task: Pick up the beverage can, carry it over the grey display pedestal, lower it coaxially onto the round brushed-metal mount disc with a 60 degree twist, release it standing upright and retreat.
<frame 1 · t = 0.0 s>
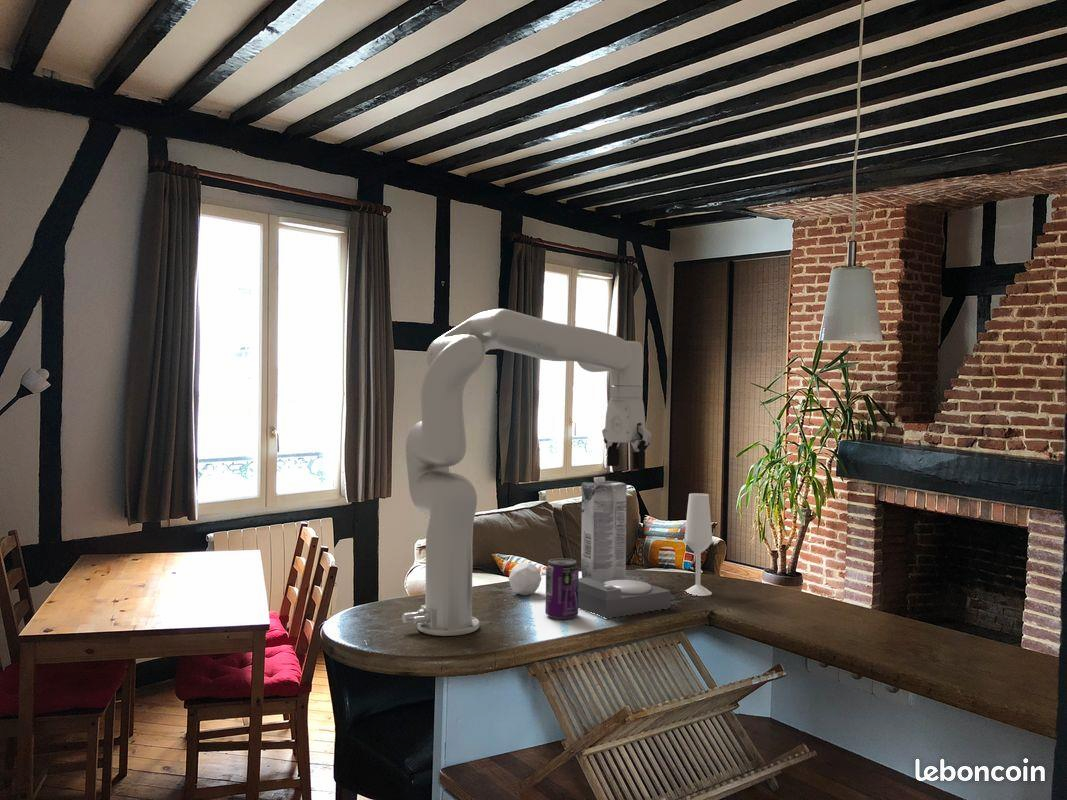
hand: (625, 467, 186), 31 cm above the breakfast bar, tool pointing down, fingers open, 9 cm apart
geometric ball: (524, 594, 192), on the breakfast bar
champagne flute: (697, 593, 195), on the breakfast bar
juice carton: (603, 583, 205), on the breakfast bar
beverage can: (561, 617, 172), on the breakfast bar
grey display pedestal: (621, 607, 181), on the breakfast bar
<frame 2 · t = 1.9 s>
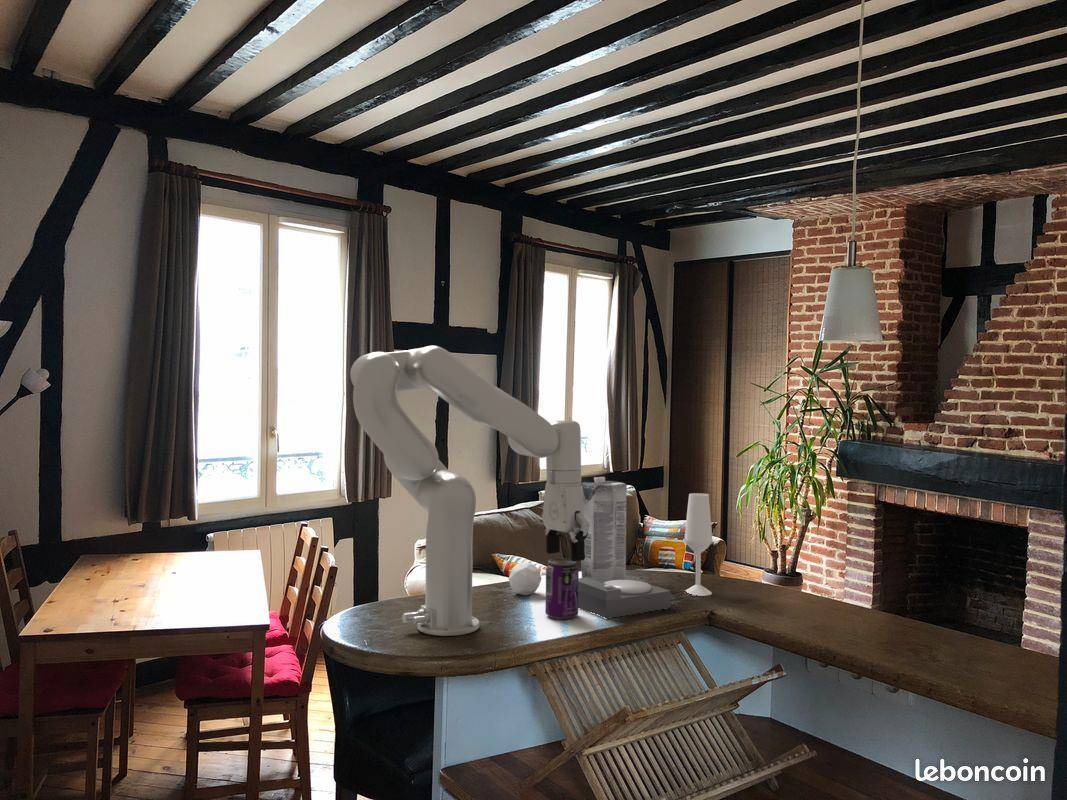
hand: (565, 556, 173), 13 cm above the breakfast bar, tool pointing down, fingers open, 9 cm apart
nothing on the breakfast bar moved.
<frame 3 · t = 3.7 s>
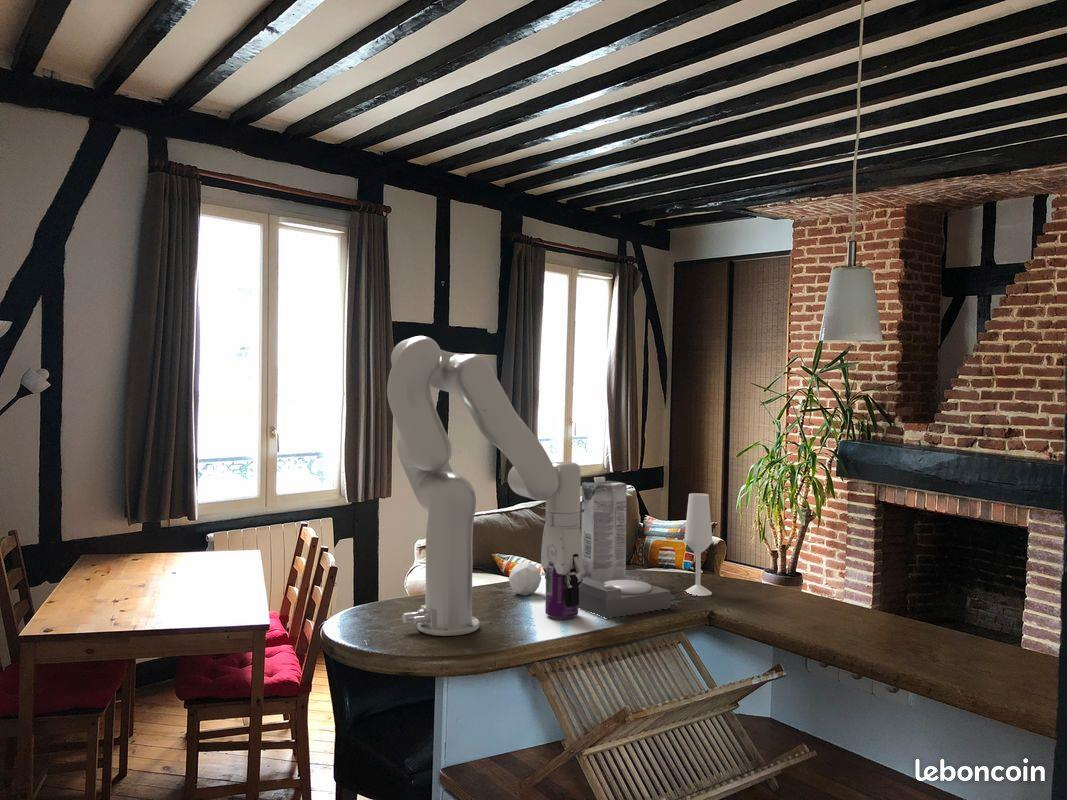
hand: (562, 601, 172), 3 cm above the breakfast bar, tool pointing down, fingers closed on beverage can, 6 cm apart
beverage can: (561, 617, 173), on the breakfast bar, touching gripper
everything else where it was.
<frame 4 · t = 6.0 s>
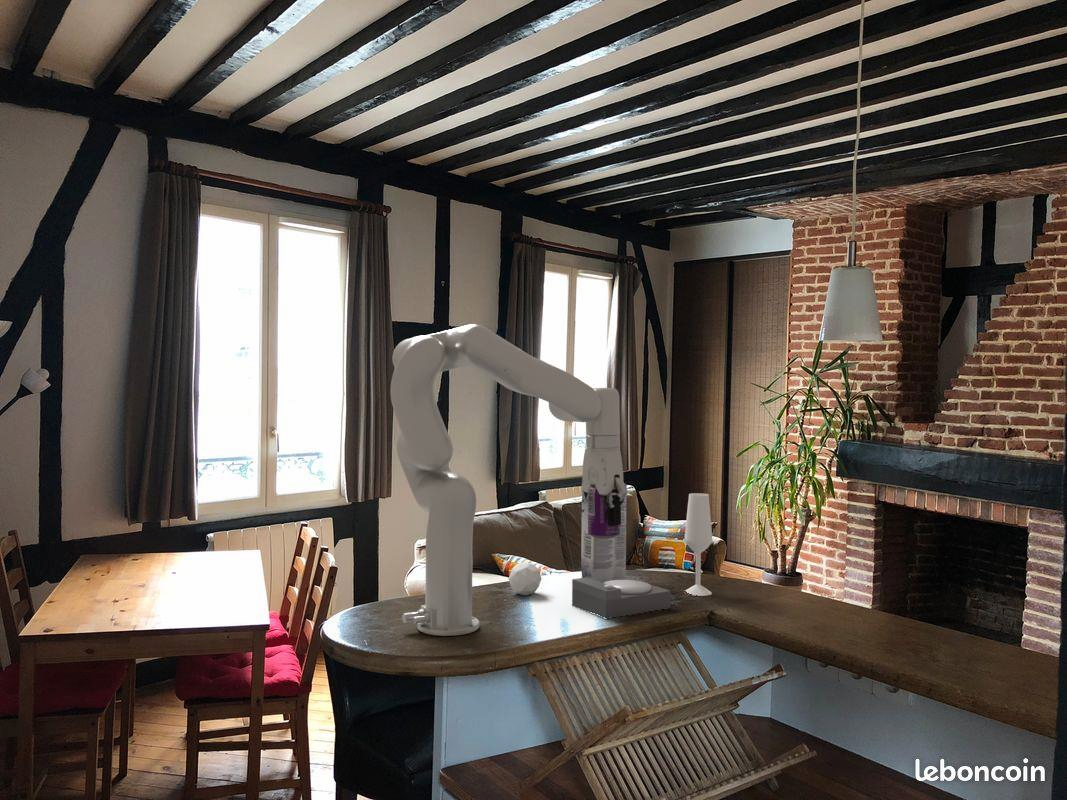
hand: (604, 522, 178), 20 cm above the breakfast bar, tool pointing down, fingers closed on beverage can, 6 cm apart
beverage can: (603, 537, 178), point 16 cm above the breakfast bar, touching gripper
everything else where it was.
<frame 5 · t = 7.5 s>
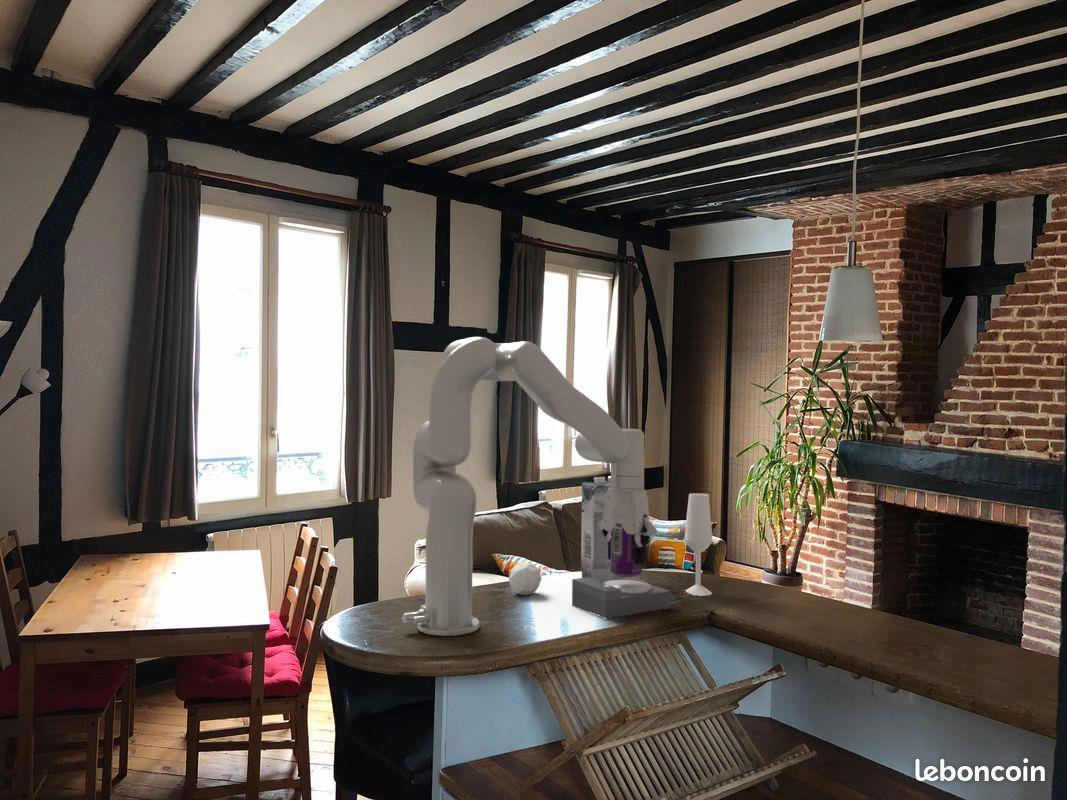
hand: (626, 560, 181), 10 cm above the breakfast bar, tool pointing down, fingers closed on beverage can, 6 cm apart
beverage can: (626, 575, 182), point 7 cm above the breakfast bar, touching gripper
everything else where it was.
when the fingers open (9 cm above the breakfast bar, at t = 8.6 s): beverage can stays where it is, resting on grey display pedestal.
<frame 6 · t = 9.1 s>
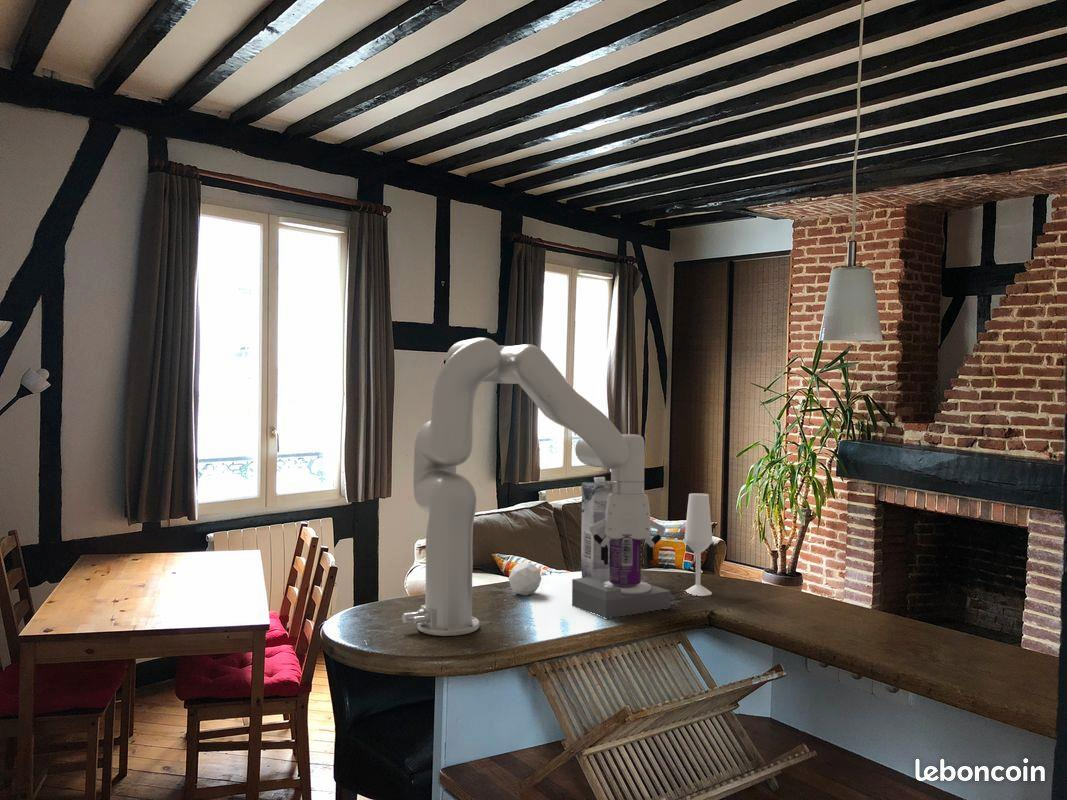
hand: (626, 563, 181), 10 cm above the breakfast bar, tool pointing down, fingers open, 9 cm apart
beverage can: (625, 585, 181), point 5 cm above the breakfast bar, touching grey display pedestal
everything else where it was.
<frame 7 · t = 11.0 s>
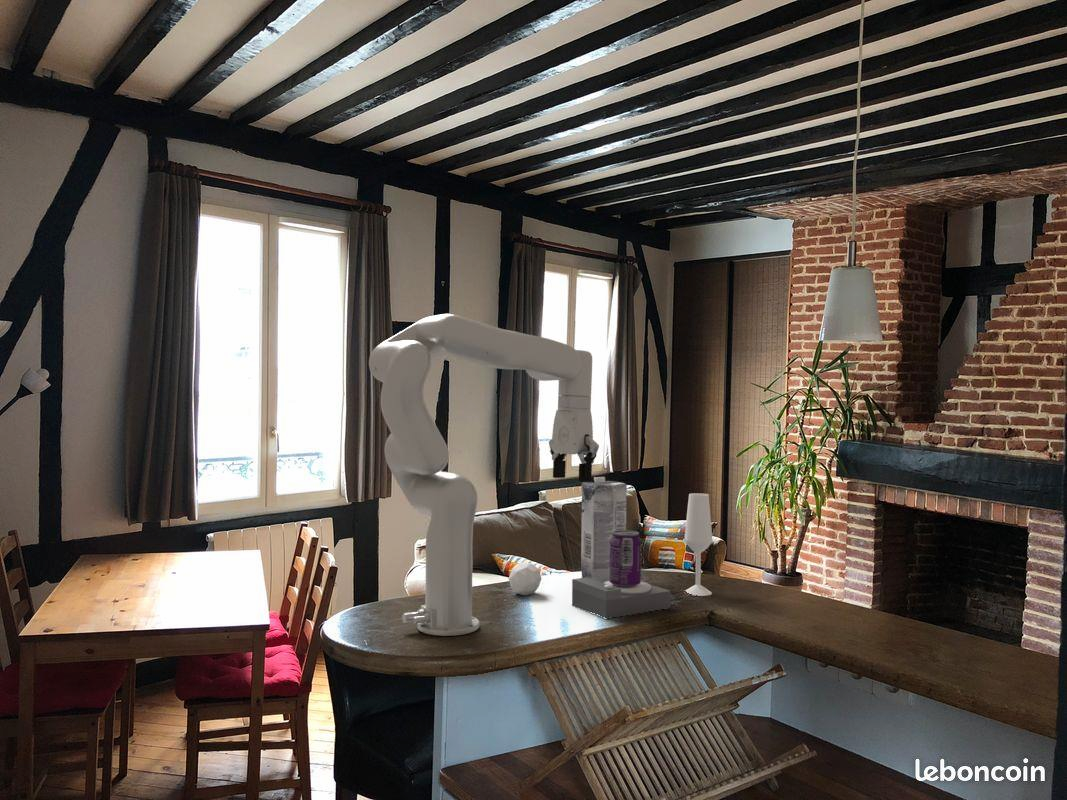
hand: (571, 479, 182), 29 cm above the breakfast bar, tool pointing down, fingers open, 9 cm apart
nothing on the breakfast bar moved.
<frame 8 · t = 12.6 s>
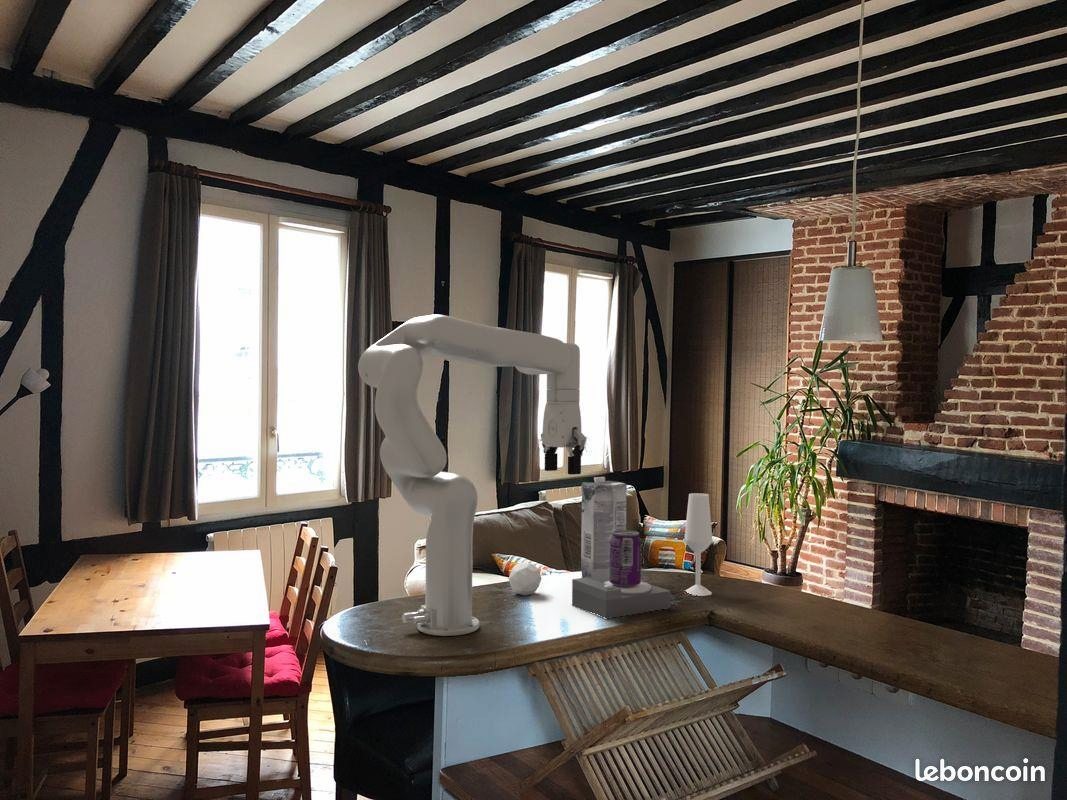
hand: (562, 472, 182), 30 cm above the breakfast bar, tool pointing down, fingers open, 9 cm apart
nothing on the breakfast bar moved.
at the end: beverage can 0.4 cm from the target spot on the grey display pedestal, point 4.6 cm above the grey display pedestal's base; beverage can touching grey display pedestal; beverage can tilted 0° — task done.
